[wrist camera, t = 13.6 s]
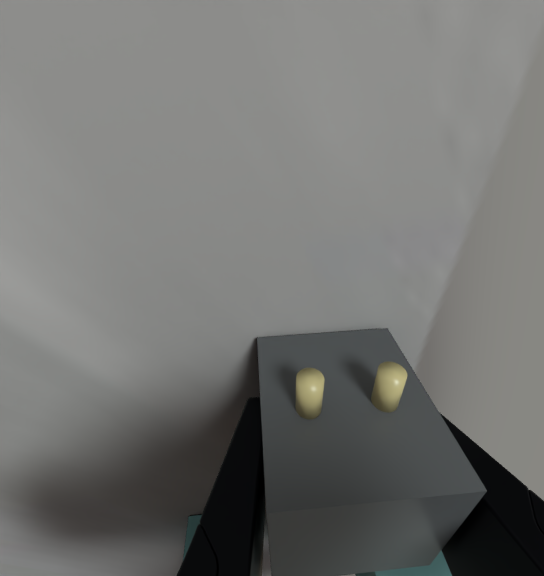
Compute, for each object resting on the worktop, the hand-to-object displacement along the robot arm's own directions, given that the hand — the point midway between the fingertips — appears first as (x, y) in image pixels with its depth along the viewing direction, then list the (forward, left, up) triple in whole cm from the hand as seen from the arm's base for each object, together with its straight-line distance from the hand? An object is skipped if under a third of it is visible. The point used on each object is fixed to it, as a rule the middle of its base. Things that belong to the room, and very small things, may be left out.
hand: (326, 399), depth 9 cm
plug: (-4, 0, -1) cm, 4 cm away
